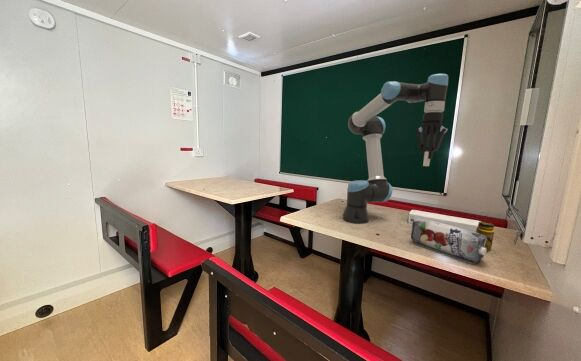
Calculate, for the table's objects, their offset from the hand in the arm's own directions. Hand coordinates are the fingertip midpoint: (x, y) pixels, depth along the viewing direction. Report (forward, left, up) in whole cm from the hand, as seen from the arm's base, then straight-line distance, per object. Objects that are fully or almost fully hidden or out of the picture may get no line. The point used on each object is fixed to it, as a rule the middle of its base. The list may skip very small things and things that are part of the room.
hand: (426, 165), depth 106 cm
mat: (+13, 0, -36) cm, 38 cm away
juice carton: (-1, -2, -30) cm, 30 cm away
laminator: (-2, +33, -36) cm, 49 cm away
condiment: (+20, +16, -36) cm, 44 cm away
